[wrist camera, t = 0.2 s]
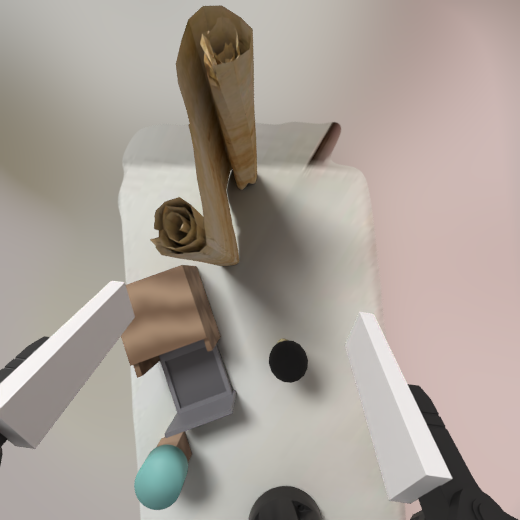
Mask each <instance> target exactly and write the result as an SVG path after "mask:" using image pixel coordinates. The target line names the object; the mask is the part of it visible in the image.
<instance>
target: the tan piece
mask: <svg viewBox="0 0 520 520" xmlns="http://www.w3.org/2000/svg"><path fill="white" fill-rule="evenodd" d="M253 62H254V61H253V30H252V28H251V27H250V26H249V25H248V24H247V23H246V22H245V21H244V20H243V19H242V18H241V17H239V16H237V15H236V14H234V13H233V12H231V11H230V10H228V9H226V8H225V7H223V6H203V7H201V8H200V9H199V10H198V11H197V12H196V13H195V14H194V15H193V16H192V17H191V18H190V19H189V20H188V22H187V25H186V28H185V32H184V34H183V38H182V41H181V45H180V49H179V53H178V57H177V61H176V69H177V77H178V84H179V87H180V91H181V94H182V97H183V100H184V103H185V106H186V110H187V114H188V118H189V122H190V124H189V129H190V133H191V137H192V143H193V148H194V157H195V165H196V173H197V180H198V186H199V191H200V196H201V201H202V207H203V215H204V217H203V216H202V215H201V214H200V213H199V212H198V211H197V210H196V209H195V208H194V207H192V206H191V205H190V204H189V203H187V202H186V201H184V200H183V199H181V198H180V197H178V198H175V199H172V200H169V201H166V202H164V203H163V204H162V205H161V206H160V207H159V208H158V209H157V210H156V212H155V216H154V217H155V223H154V229H156V230H159V237H158V238H155V239H150V240H151V241H152V242H153V243H154V244H155V245H156V249H157V250H158V251H159V252H160V254H161V255H165V256H169V257H175V258H180V259H187V260H193V261H199V262H205V263H209V264H214V265H219V266H229V265H236V264H238V263H239V254H238V248H237V242H236V237H235V233H234V229H233V225H232V219H231V214H230V208H229V203H228V197H227V192H226V189H227V184H228V179H229V175H230V171H231V170H233V173H234V177H235V180H236V184H237V187H238V188H240V189H241V190H242V189H244V188H245V187H246V186H247V184H248V183H250V184H254V183H255V182H256V179H257V153H256V130H255V115H254V63H253Z"/></svg>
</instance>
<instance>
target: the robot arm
mask: <svg viewBox="0 0 520 520" xmlns="http://www.w3.org/2000/svg"><path fill="white" fill-rule="evenodd" d="M134 318H135V316H134V312H133V309H132V305H131V302H130V299H129V295H128V292H127V288H126V285H125V282H117V281H111V282H109V283H108V285H106V286H105V287H104V288H103V289H102V290H101V291H100V292H99V293H98V294H96V295H95V296H94V297H93V298H92V299H91V300H90V301H89V302H88V303H87V304H86V305H85V306H84V307H82V308H81V309H80V310H79V311H78V312H77V313H76V314H75V315H74V316H73V317H72V318H71V319H69V320H68V321H67V322H66V323H65V324H64V325H63V326H62V327H61V328H60V329H59V330H58V331H56V332H55V333H54V334H53V335H52V336H51V337H43V338H41V339H39V340H37V341H36V342H34V343H32V344H31V345H29V346H28V347H26V348H25V349H24V350H23V351H22V352H21V353H20V354H19V355H17V356H16V358H15V359H13V360H12V361H11V362H9V363H8V364H7V365H6V366H5V368H4V369H1V370H0V464H1V459H2V448H1V446H2V445H3V443H5V442H6V440H9V441H10V442H11V443H13V444H14V445H15V446H19V447H26V448H33V449H36V447H37V446H38V445H39V443H40V442H41V440H42V439H43V438H44V437H45V435H46V434H47V433H48V431H49V430H50V428H51V427H52V426H53V425H54V423H55V422H56V421H57V419H58V418H59V417H60V415H61V414H62V413H63V412H64V410H65V409H66V408H67V406H68V405H69V404H70V402H71V401H72V400H73V398H74V397H75V396H76V394H77V393H78V391H79V390H80V389H81V388H82V386H83V385H84V384H85V382H86V381H87V380H88V379H89V377H90V376H91V374H92V373H93V372H94V370H95V369H96V368H97V367H98V365H99V364H100V363H101V361H102V360H103V359H104V357H105V356H106V354H107V353H108V352H109V351H110V349H111V348H112V347H113V345H114V344H115V343H116V342H117V340H118V339H119V337H120V336H121V335H122V334H123V332H124V331H125V330H126V328H127V327H128V326H129V324H130V323H131V322H132V320H133V319H134ZM345 347H346V350H347V354H348V357H349V361H350V364H351V368H352V372H353V375H354V379H355V382H356V386H357V389H358V393H359V396H360V400H361V403H362V407H363V410H364V414H365V418H366V421H367V425H368V428H369V432H370V435H371V439H372V442H373V446H374V449H375V453H376V456H377V460H378V464H379V467H380V471H381V474H382V478H383V481H384V485H385V488H386V492H387V495H388V499H389V501H396V502H403V503H410V504H411V503H412V502H414V501H416V500H417V499H419V502H420V505H421V507H422V510H421V511H419V512H417V513H416V514H414V515H413V516H412V517H411V519H410V520H518V519H516V518H514V517H512V516H510V515H509V514H507V513H505V512H504V511H503V510H502V509H501V507H500V506H499V505H498V504H497V503H496V502H495V501H494V500H493V499H492V498H491V497H490V496H488V495H487V494H485V493H484V492H482V490H481V489H480V488H479V487H478V485H477V483H476V482H475V480H474V478H473V477H472V475H471V473H470V471H469V469H468V467H467V466H466V464H465V462H464V460H463V459H462V456H461V454H460V453H459V451H458V449H457V447H456V445H455V443H454V441H453V440H452V438H451V436H450V434H449V432H448V430H447V429H446V428H445V425H444V423H443V421H442V419H441V417H439V416H438V412H437V410H436V408H435V406H434V404H433V403H432V401H431V399H430V398H429V397H428V395H427V394H426V393H425V392H424V391H423V390H422V389H421V387H419V386H416V385H409V384H407V382H406V380H405V378H404V376H403V374H402V372H401V370H400V368H399V366H398V364H397V362H396V360H395V357H394V355H393V353H392V351H391V349H390V347H389V345H388V343H387V341H386V339H385V336H384V334H383V332H382V330H381V328H380V326H379V324H378V322H377V320H376V318H375V316H374V314H372V313H364V312H359V314H358V316H357V318H356V321H355V323H354V325H353V327H352V330H351V332H350V334H349V336H348V338H347V341H346V343H345ZM249 520H322V517H321V513H320V511H319V508H318V506H317V505H316V503H315V502H314V500H313V499H312V498H311V497H310V496H309V495H308V494H306V493H305V492H303V491H302V490H300V489H297V488H294V487H288V486H282V487H276V488H273V489H271V490H269V491H267V492H265V493H264V494H263V495H261V496H260V497H259V498H258V500H257V501H256V502H255V504H254V505H253V507H252V509H251V512H250V515H249Z"/></svg>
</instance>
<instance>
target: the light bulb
mask: <svg viewBox="0 0 520 520" xmlns="http://www.w3.org/2000/svg"><path fill="white" fill-rule="evenodd" d="M307 364H308V359H307V356H306V352H305V351H304V349H303V348H302V347H301V346H300V345H299V344H298V343H296V342H294V341H289V340H286V339H280V340H279V341H278V343H277V344H276V345H275V346H274V347H273V349H272V351H271V353H270V356H269V365H270V368H271V371H272V373H273V374H274V375H275V376H276V378H278V379H279V380H281V381H283V382H290V383H292V382H295V381H298V380H299V379H300V378H302V377H303V376H304V374H305V372H306V370H307Z"/></svg>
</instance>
